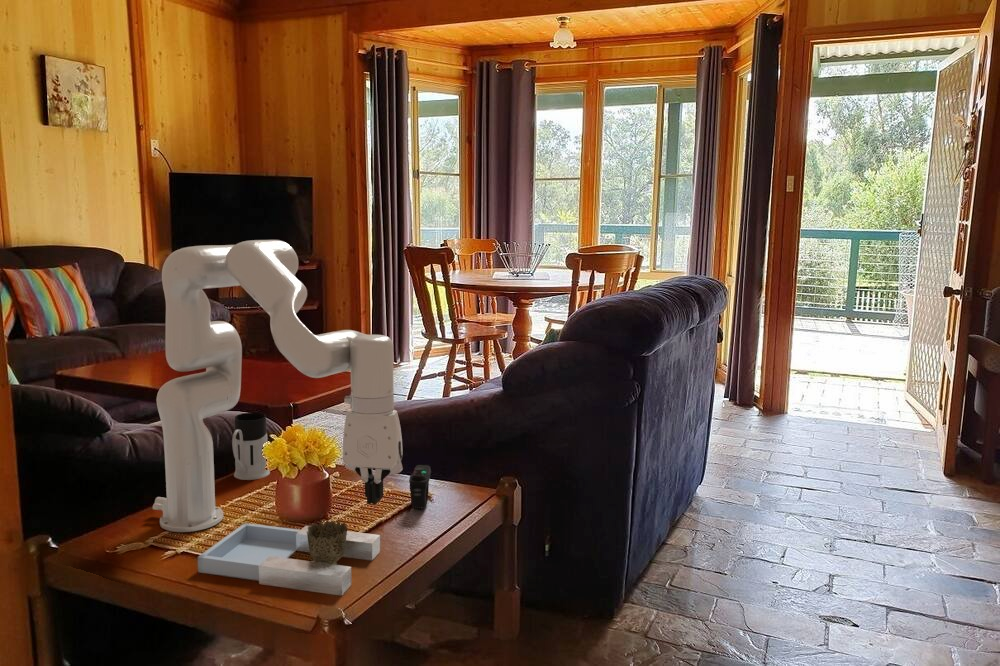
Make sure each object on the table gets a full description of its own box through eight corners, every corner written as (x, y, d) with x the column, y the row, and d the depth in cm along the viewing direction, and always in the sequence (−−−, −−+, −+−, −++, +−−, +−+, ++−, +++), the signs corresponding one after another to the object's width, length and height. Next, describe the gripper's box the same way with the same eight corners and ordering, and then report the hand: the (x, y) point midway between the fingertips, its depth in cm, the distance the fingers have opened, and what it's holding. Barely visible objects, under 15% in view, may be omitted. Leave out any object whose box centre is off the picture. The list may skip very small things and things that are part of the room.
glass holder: (275, 469, 195) (274, 412, 193) (252, 488, 181) (250, 428, 179) (242, 467, 196) (241, 411, 193) (217, 486, 182) (215, 426, 179)
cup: (312, 558, 146) (311, 519, 145) (350, 559, 146) (350, 520, 145) (303, 576, 139) (302, 535, 137) (343, 577, 139) (342, 536, 138)
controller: (407, 515, 168) (407, 472, 166) (414, 494, 180) (414, 454, 178) (426, 516, 168) (427, 473, 166) (432, 495, 180) (432, 455, 178)
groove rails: (259, 583, 136) (258, 565, 135) (305, 542, 153) (305, 525, 152) (342, 595, 132) (341, 577, 132) (380, 551, 150) (380, 535, 149)
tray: (198, 572, 139) (197, 557, 139) (245, 536, 155) (244, 522, 154) (262, 581, 137) (261, 565, 136) (303, 544, 152) (303, 530, 152)
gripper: (324, 406, 133) (327, 505, 136) (405, 411, 130) (406, 513, 133) (342, 396, 140) (344, 490, 143) (419, 401, 137) (419, 497, 140)
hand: (374, 501), depth 138 cm, fingers closed
